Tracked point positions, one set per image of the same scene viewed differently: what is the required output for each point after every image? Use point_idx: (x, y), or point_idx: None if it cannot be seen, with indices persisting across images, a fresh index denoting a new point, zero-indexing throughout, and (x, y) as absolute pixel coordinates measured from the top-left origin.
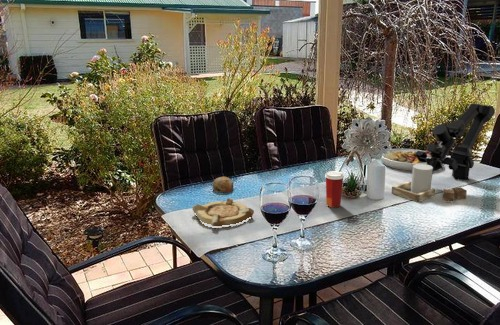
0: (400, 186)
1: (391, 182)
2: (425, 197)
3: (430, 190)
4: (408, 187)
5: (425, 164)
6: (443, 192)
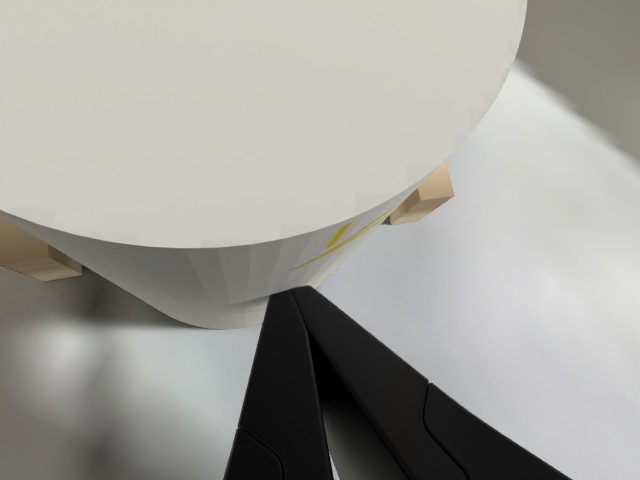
0: None
1: (616, 181)
2: None
3: None
4: None
5: (374, 187)
6: None
